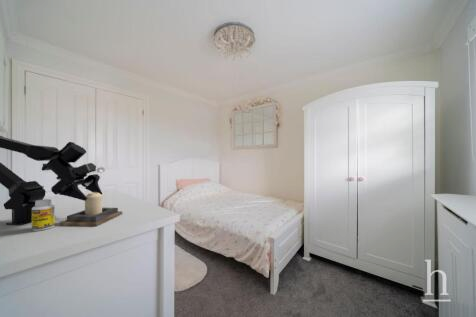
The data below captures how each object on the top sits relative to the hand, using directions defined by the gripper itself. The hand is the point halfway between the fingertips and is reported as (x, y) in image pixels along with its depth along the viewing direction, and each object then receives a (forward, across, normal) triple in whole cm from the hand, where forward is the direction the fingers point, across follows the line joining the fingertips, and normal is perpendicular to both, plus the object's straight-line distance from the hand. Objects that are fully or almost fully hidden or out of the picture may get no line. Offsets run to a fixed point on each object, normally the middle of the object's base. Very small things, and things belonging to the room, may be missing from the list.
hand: (94, 197), depth 73 cm
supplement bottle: (-2, -8, +15) cm, 17 cm away
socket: (+7, 0, +6) cm, 9 cm away
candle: (+6, 0, +6) cm, 8 cm away
